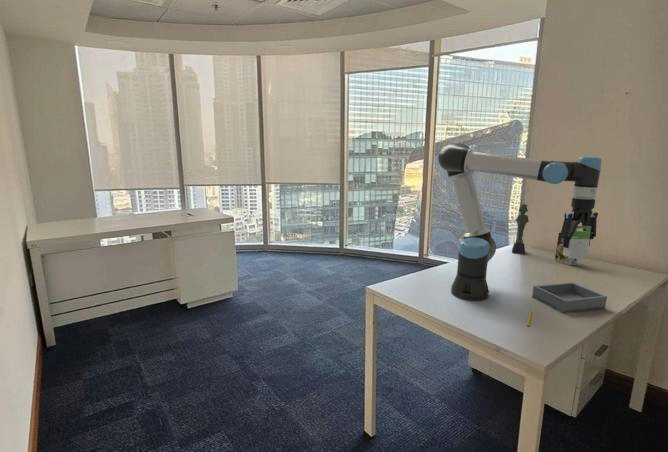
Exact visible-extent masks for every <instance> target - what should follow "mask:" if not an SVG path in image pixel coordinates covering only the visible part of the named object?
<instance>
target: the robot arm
mask: <svg viewBox="0 0 668 452" xmlns="http://www.w3.org/2000/svg"><path fill="white" fill-rule="evenodd" d="M437 160H438V161H437V162H438V164H439V166H440V167H441V168H442V169H443V170H445V171H446V172H447V176H448V178H449V179H450V180H452V183H453V187H454V190H455V194H456V198H457V203H458V206H459V207H458V208H459V210H460V214H461V218H462V223H463V227H464V234H463V235H462V238H463V239H461V240H460V242H459V246H458V257H457V268H456V269H457V270H456V276H455V278H454V281H453V283H452V285H451V288H450V290H451V292H450V293H452V295H453V296H455V297H457V298H459V299H463V300H468V301H484V300H487V299H488V298H489V294H490V291H489V285H488V283H487V282H488V281H487V272H488V271H487V270H488V264H489V263H488V262H490V260H492V258H493V257H494V255H495V254H496V249H497V245H496V242H495V240H494V238H493V237H492V234H491V230H490V229H489V228H487V227H486V225H485V221H484V217H483V212H482V208H481V205H480V200H479V196H478V192H477V187H476V183H475V179H474V174H475V172H478V173H486V174H492V175H499V176H505V177H512V178H518V179H524V180H525V179H526V180H532V181H537V182H538V181H539V182H542V183H543V182H544V183H548V184H551V185H552V184H553V185H557V184H561V183H562V182H574V184H573V191H572V196H573V197H572V198H571V204H570V206H571V208H572V209H571V211H570V212H564V220H563V222H562V227H561V231H560V232H559V233H560V237H561V238H563V239H564V243H563V247H564V249H563V255H565V256H568V257H570V253H571V247H572V240H571V238H572V236H573V234H574V232H575V230H576V228H577V226H579V225H580V224H581V226H591V232H590V238H589V245H588V249H589V247H590V245H591V240H593V239H595V238H596V237H597V220H598V216H599V213H598V212H595V211H593V210H594V209H595V206H596V205H595V204H596V199H595V198H596V197H597V190H598V187H599V180H600V175H601V168H602V159H601V158H600V157H598V156H579V157H578V158H577V160H576V161H560V160H542V159H541V160H540V159H536V158H535V159H534V158H525V157H519V156H512V155H511V156H509V155H502V154H494V153H487V152H486V153H485V152H479V151H473V149H472V148H471V147H470V146H468V145H466V144H464V143H450V144H447V145H445V146H443V147H442V148H441V149H440V151H439V153H438V157H437ZM582 231H587V229H584V228H582ZM588 253H589V250H588V251H587V255H588Z"/></svg>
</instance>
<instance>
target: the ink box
mask: <svg viewBox="0 0 668 452" xmlns="http://www.w3.org/2000/svg"><path fill="white" fill-rule="evenodd" d="M583 228H584V229H587V231H583V230H579V229H583ZM590 232H591V226H582V225H578V226H577V228H576V230H575V232H574V234H573V236H572V238H571V240H572V247H571V253H570V257H568V256H565V255H563V256H564V257H566V258H568V259H578V260H587V258H588V257H587V256H588V254H587V251H588V252H589V248H588V245H589V238H590ZM589 246H590V245H589Z"/></svg>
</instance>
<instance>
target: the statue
mask: <svg viewBox="0 0 668 452" xmlns="http://www.w3.org/2000/svg"><path fill="white" fill-rule="evenodd" d="M517 211H518V212H520V214H518V215H517V217H516V219H515V221H516V223H517V239H515V242H514V243H513V245H512V248H511V249H512V250H511V253H512V254H517V255H526V247H525V243H524V239H523V237H524V229H525V227H526V225H527V223H529V222H530V219H529V216H528V215H526V213H527V212H529V210H528V204H525V203H523V204H521V205H520V207H519V209H518V210H517Z"/></svg>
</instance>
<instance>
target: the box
mask: <svg viewBox="0 0 668 452" xmlns="http://www.w3.org/2000/svg"><path fill="white" fill-rule="evenodd" d="M532 288H533V289H532V294H531V295H532V297H531V298H533V299H534V300H537V301H539V302H541V303H543V304H544V305H547V306H548V307H550V308H552V309H554V310H556V311H558V312H560V313H562V314H568V313H578V312H585V311H587V312H588V311H595V310H596V311H597V310H604V309H606V305H607V299H608V296H606V295H605V294H601V293H600V292H597V291H594V290H593V289H590V288H588V287H585V286H582V285H579V284H578V283H575V282H572V281H571V282H561V283H551V284H550V283H549V284H543V285H540V284H539V285H533V287H532Z"/></svg>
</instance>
